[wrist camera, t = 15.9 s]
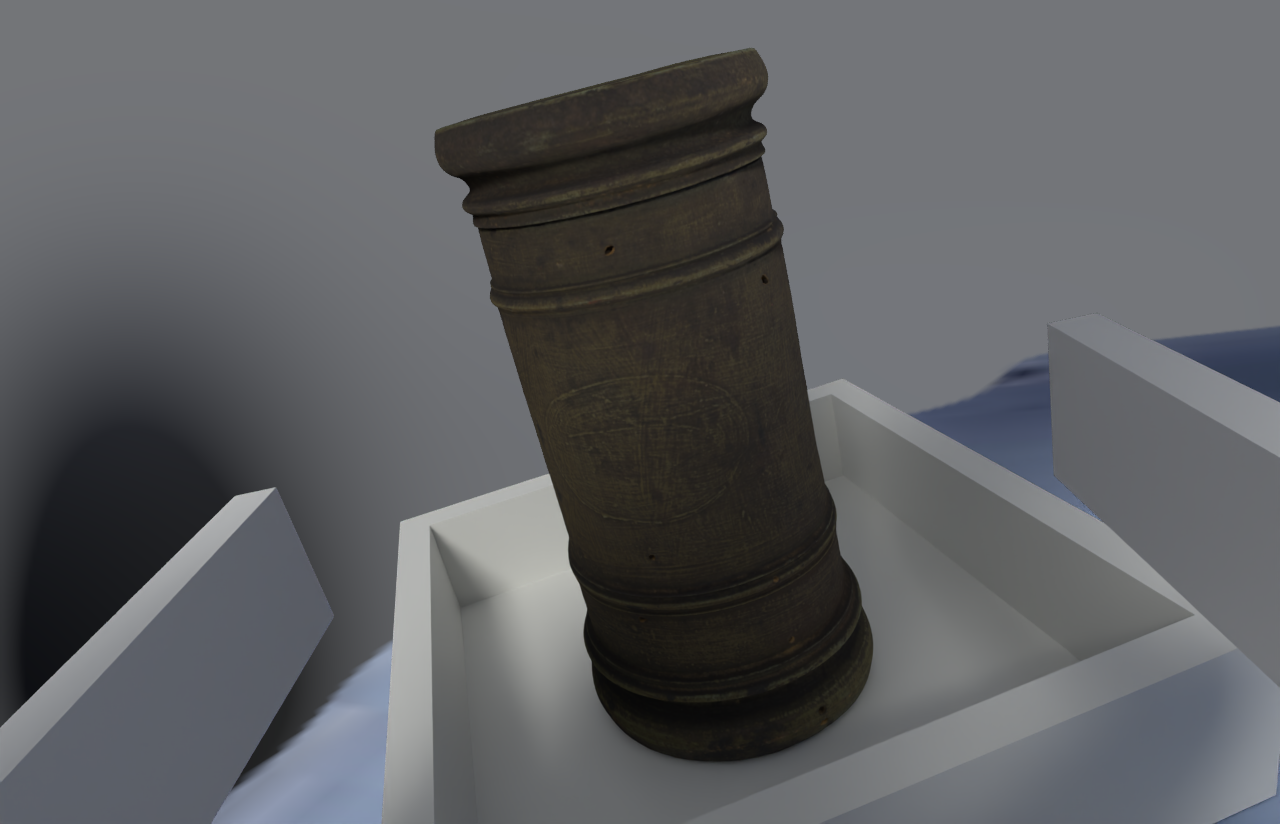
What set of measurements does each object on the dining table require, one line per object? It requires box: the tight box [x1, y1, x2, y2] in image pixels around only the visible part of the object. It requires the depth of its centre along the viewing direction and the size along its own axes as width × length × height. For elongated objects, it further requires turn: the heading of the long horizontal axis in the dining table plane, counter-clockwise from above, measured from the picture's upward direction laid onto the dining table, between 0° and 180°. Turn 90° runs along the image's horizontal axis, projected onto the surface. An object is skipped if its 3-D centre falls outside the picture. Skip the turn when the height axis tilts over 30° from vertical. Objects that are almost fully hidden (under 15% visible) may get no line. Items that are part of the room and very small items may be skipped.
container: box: [435, 48, 873, 762], centre depth 23 cm, size 9×9×18 cm
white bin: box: [382, 379, 1280, 824], centre depth 26 cm, size 20×20×5 cm
